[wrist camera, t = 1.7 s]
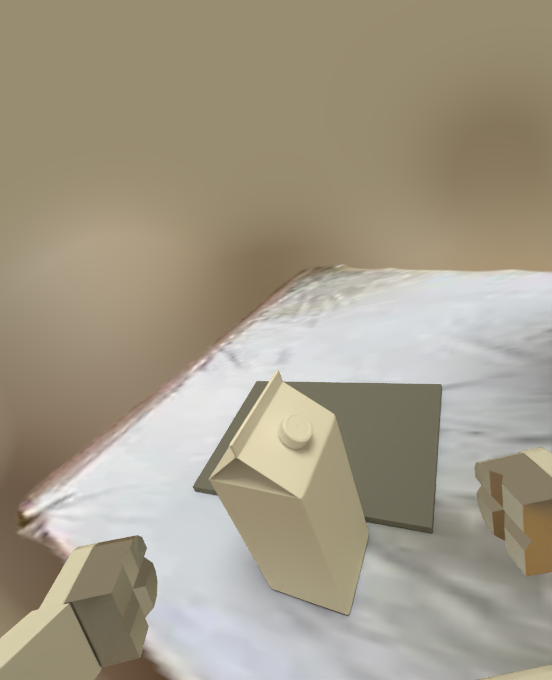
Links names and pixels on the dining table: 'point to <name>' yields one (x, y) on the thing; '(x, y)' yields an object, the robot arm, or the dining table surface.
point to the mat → (373, 445)
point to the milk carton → (295, 498)
